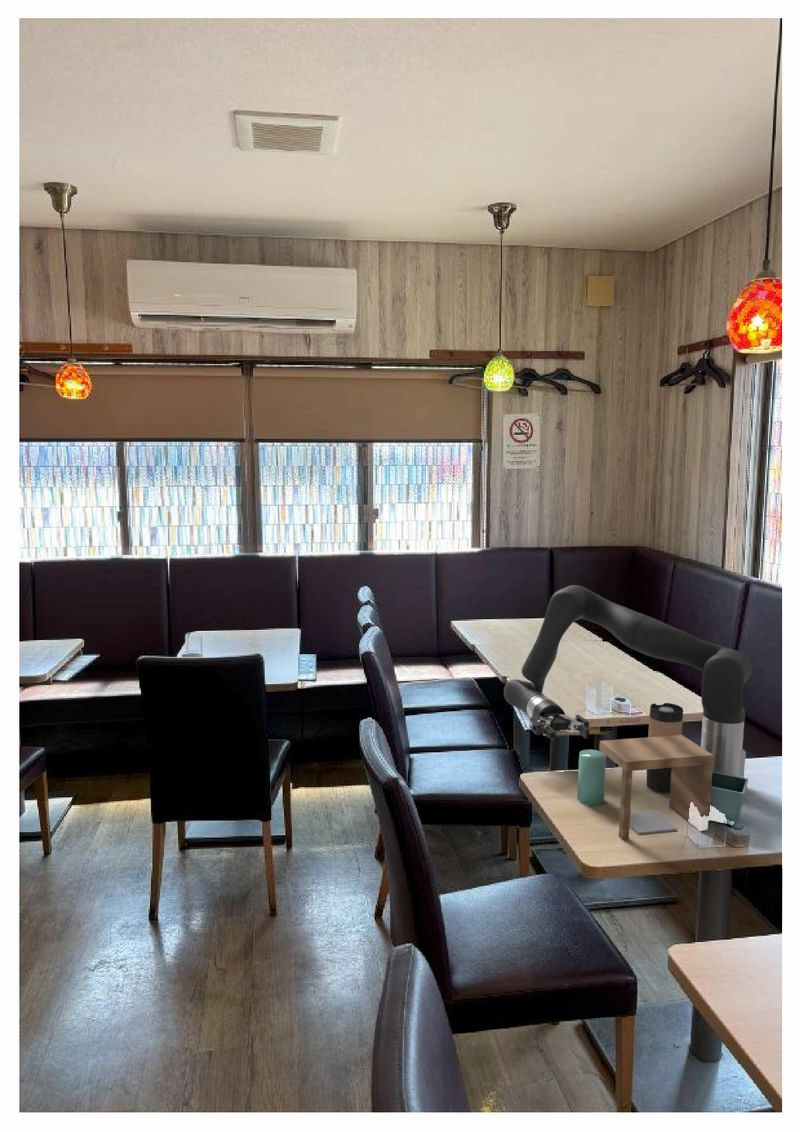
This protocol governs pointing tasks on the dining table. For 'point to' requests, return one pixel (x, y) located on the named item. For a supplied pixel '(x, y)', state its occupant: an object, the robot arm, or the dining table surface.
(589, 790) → the teal glossy cylinder
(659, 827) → the mat
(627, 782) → the brown wooden shelf stand
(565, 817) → the dining table surface
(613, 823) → the dining table surface
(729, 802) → the flower pot
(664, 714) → the travel mug
